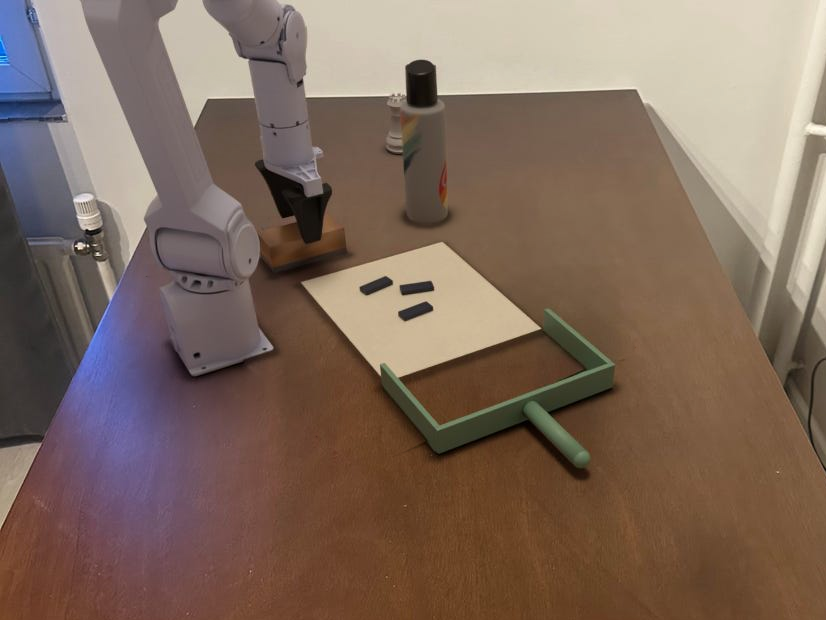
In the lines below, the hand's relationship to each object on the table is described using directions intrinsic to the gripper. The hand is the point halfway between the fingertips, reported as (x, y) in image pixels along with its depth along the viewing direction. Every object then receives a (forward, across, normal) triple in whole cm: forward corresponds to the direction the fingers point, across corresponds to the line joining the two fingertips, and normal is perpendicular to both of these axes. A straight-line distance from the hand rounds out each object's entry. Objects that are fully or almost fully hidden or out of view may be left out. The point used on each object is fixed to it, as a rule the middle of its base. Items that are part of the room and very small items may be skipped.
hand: (300, 228), depth 112 cm
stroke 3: (+4, -20, -6) cm, 21 cm away
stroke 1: (+4, -12, -4) cm, 13 cm away
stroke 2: (+4, -15, -8) cm, 18 cm away
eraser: (+4, 0, 0) cm, 4 cm away
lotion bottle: (+4, +2, -19) cm, 19 cm away
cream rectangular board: (+4, -18, -7) cm, 20 cm away
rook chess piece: (+4, +24, -26) cm, 36 cm away
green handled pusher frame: (+4, -41, -7) cm, 42 cm away
